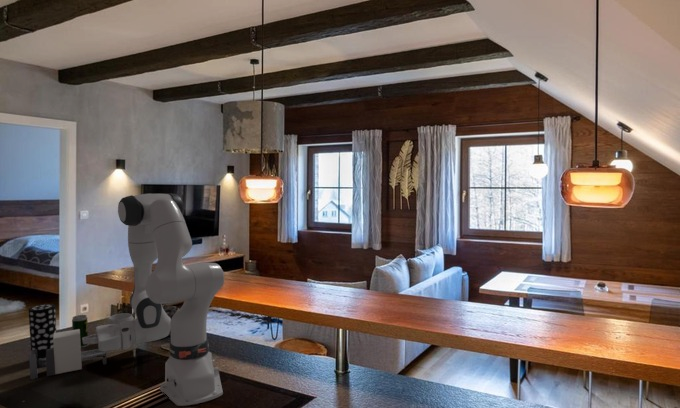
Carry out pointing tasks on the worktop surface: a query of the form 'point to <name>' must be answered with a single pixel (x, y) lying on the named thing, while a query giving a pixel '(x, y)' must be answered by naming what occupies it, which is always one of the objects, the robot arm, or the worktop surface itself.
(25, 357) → the worktop surface
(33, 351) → the pipe
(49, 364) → the charcoal grey box
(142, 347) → the worktop surface
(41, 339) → the white-spotted black cylinder
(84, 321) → the beer can
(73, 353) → the notched block
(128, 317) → the mug
